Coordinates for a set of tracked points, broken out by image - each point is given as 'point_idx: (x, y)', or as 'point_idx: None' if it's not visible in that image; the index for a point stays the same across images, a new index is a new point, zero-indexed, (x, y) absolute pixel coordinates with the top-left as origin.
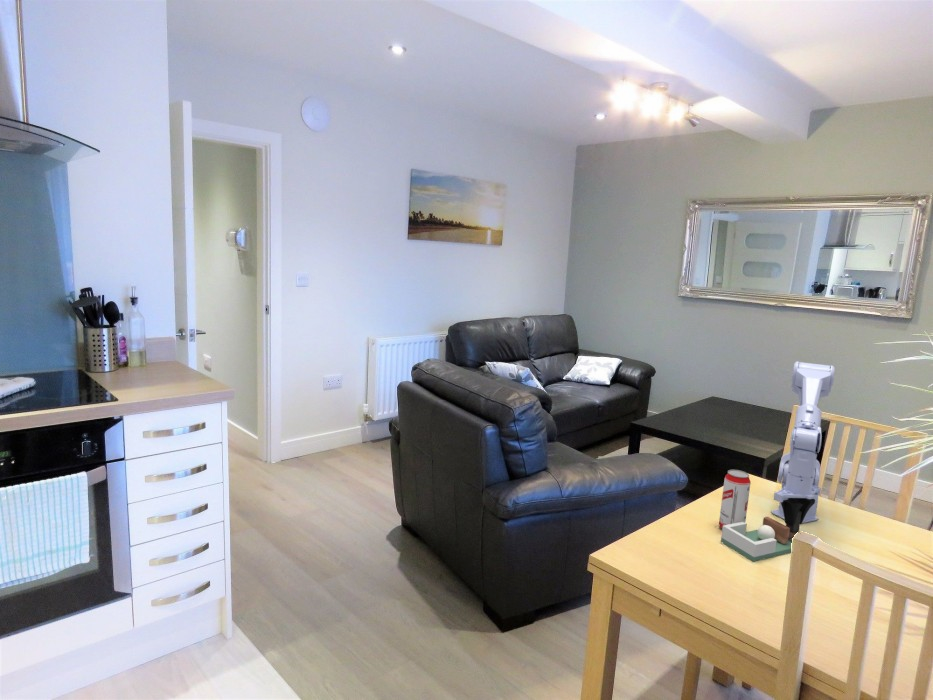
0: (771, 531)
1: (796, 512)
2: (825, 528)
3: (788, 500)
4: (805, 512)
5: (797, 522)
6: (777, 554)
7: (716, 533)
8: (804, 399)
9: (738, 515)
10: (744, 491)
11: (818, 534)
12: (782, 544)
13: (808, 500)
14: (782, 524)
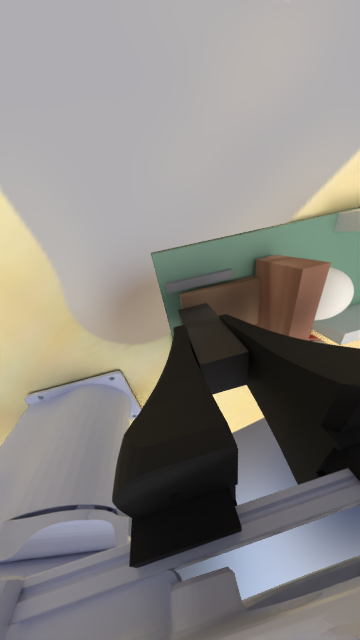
0: (341, 278)
1: (278, 341)
2: (27, 357)
3: None
4: (183, 358)
5: (203, 325)
6: (316, 217)
7: (325, 337)
8: None
9: None
10: None
11: (76, 327)
12: None
13: (231, 464)
14: (297, 303)
